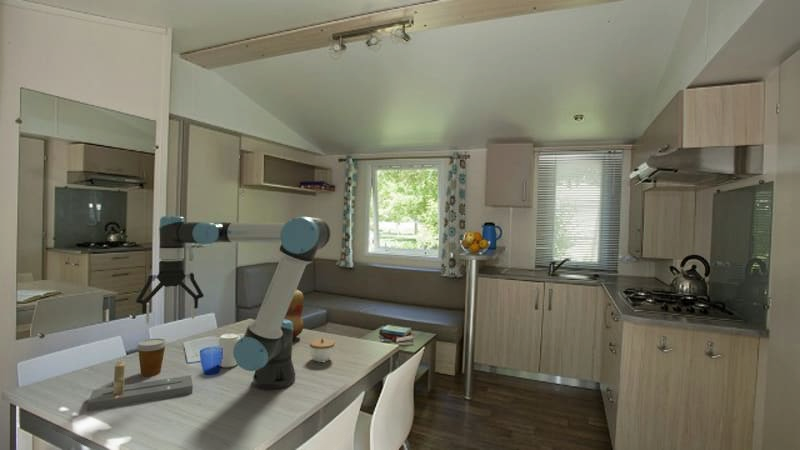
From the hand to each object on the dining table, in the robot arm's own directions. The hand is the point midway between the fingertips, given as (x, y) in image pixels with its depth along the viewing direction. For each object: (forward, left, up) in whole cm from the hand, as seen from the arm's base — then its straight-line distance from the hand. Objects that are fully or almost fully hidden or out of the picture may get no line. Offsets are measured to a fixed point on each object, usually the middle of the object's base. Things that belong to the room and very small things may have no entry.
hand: (170, 320), depth 133 cm
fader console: (+2, +8, -24) cm, 25 cm away
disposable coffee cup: (+15, -7, -24) cm, 29 cm away
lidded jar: (-39, -42, -24) cm, 62 cm away
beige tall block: (+7, +12, -21) cm, 25 cm away
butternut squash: (-11, -64, -24) cm, 69 cm away
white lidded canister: (-6, -24, -24) cm, 34 cm away
